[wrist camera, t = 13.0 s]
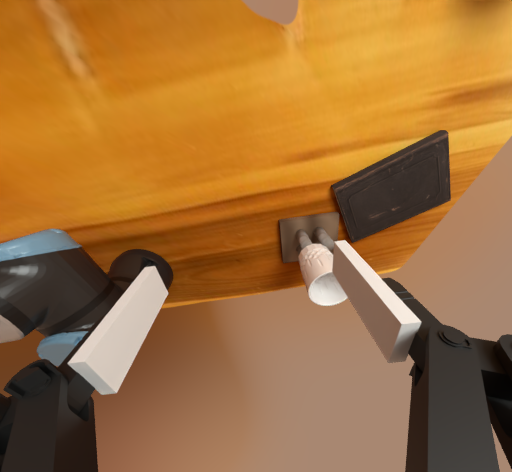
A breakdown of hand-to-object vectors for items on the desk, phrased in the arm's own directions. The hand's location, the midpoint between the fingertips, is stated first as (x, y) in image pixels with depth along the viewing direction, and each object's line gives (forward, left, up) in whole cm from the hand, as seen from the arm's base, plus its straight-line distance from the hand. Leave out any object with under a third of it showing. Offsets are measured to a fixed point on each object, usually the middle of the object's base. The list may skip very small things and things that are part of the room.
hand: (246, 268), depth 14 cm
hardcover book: (+32, -7, -31) cm, 45 cm away
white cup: (+12, -16, -22) cm, 30 cm away
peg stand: (+13, -16, -31) cm, 37 cm away
